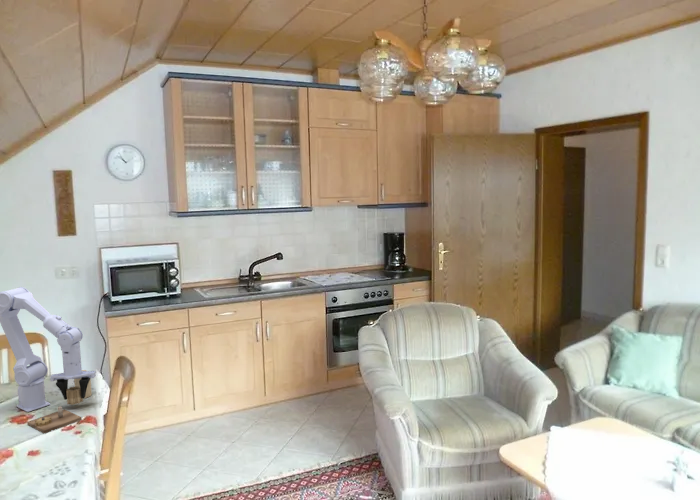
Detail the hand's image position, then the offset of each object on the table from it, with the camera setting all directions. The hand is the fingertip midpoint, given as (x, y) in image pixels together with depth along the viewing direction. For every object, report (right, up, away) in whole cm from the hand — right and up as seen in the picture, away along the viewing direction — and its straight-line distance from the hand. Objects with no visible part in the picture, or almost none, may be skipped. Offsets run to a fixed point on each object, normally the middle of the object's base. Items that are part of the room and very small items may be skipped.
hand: (74, 398), depth 183 cm
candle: (-2, -3, +11) cm, 11 cm away
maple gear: (0, -1, 0) cm, 1 cm away
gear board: (0, -5, -12) cm, 13 cm away
